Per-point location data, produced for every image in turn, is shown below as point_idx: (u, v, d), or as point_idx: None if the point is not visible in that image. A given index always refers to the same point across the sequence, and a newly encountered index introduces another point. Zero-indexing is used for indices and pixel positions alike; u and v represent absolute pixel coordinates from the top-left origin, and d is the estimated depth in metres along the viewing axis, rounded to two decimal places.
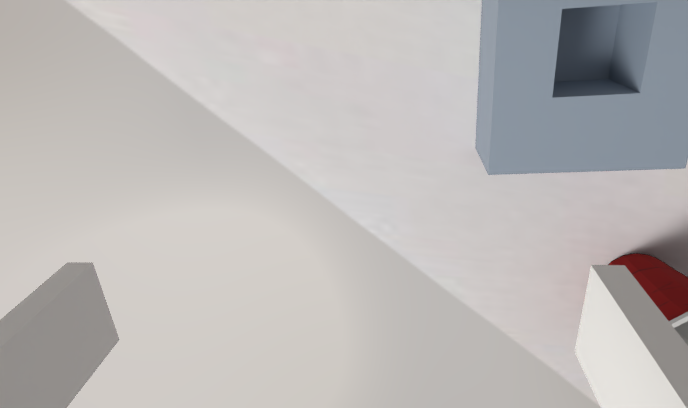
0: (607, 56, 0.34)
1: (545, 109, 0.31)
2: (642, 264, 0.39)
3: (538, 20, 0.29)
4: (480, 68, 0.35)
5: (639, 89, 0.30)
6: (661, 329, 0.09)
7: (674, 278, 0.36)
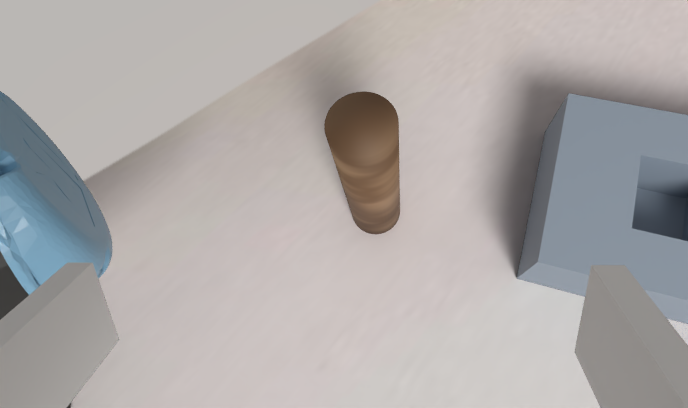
0: (662, 197, 0.36)
1: None
2: None
3: (639, 250, 0.30)
4: None
5: None
6: (661, 329, 0.09)
7: None
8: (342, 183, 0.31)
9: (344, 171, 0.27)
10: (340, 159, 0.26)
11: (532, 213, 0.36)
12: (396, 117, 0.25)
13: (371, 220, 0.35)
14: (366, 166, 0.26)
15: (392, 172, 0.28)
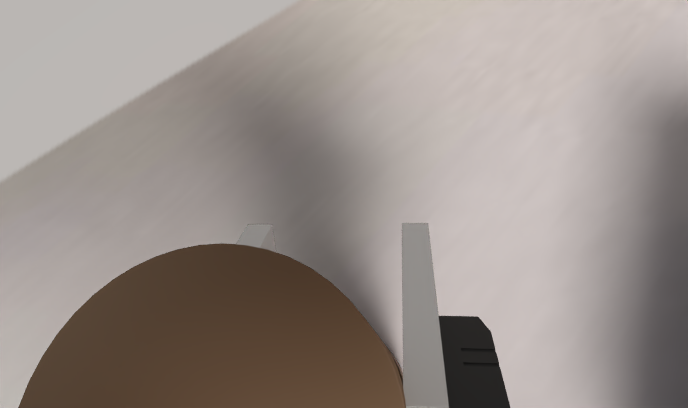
0: None
1: None
2: None
3: None
4: None
5: None
6: (422, 266, 0.12)
7: None
8: None
9: None
10: None
11: None
12: None
13: None
14: None
15: None
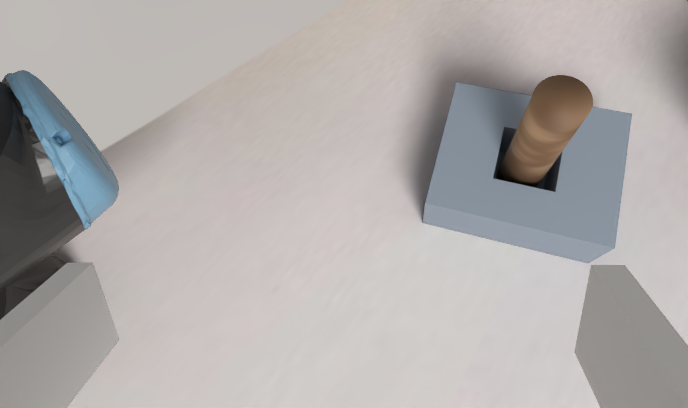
0: None
1: (563, 197, 0.41)
2: None
3: (496, 193, 0.42)
4: (519, 244, 0.45)
5: None
6: (661, 329, 0.09)
7: None
8: (519, 150, 0.39)
9: (537, 138, 0.35)
10: (543, 127, 0.34)
11: None
12: (590, 94, 0.33)
13: (525, 184, 0.43)
14: (564, 132, 0.33)
15: (570, 139, 0.36)
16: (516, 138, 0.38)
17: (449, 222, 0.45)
